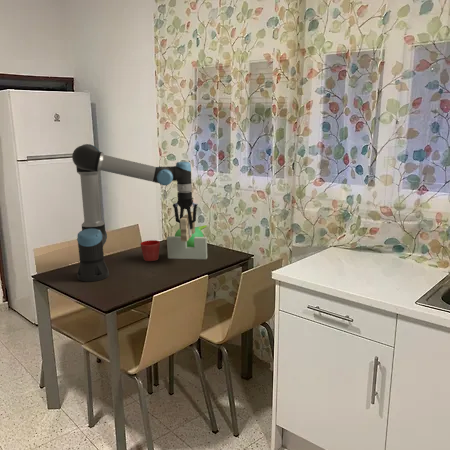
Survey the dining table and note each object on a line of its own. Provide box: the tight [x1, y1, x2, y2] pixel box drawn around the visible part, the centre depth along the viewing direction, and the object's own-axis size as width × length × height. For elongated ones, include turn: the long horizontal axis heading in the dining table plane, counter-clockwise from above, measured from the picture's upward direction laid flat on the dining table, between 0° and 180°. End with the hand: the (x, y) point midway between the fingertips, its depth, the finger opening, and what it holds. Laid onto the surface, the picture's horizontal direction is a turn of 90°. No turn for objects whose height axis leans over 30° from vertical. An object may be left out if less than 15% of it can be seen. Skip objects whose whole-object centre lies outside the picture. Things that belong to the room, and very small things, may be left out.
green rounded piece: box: [174, 224, 208, 247], centre depth 273 cm, size 18×17×15 cm
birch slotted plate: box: [179, 211, 196, 242], centre depth 248 cm, size 20×3×12 cm, turn 171°
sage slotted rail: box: [166, 235, 208, 260], centre depth 255 cm, size 22×3×12 cm, turn 81°
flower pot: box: [140, 239, 161, 262], centre depth 255 cm, size 11×11×10 cm
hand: (186, 234), depth 245 cm, fingers closed on birch slotted plate, 3 cm apart
